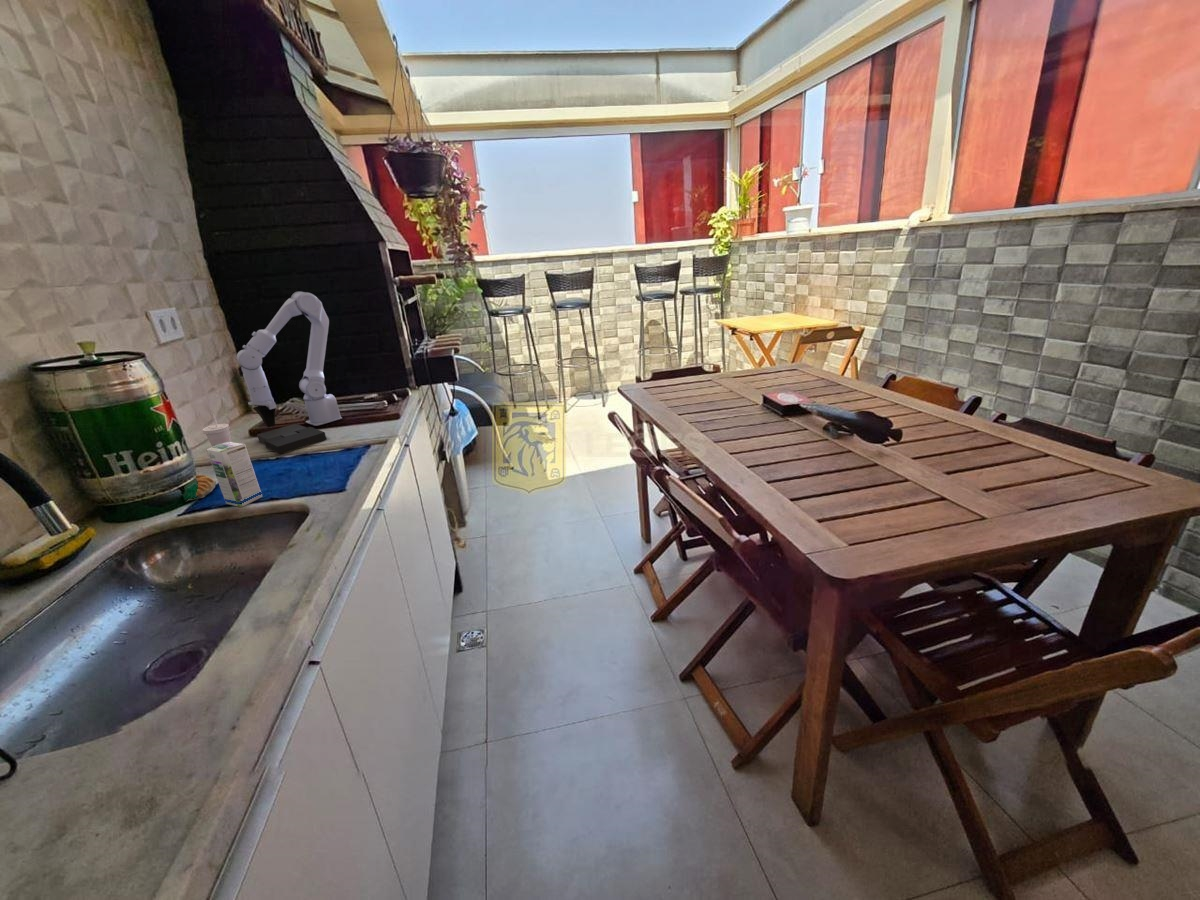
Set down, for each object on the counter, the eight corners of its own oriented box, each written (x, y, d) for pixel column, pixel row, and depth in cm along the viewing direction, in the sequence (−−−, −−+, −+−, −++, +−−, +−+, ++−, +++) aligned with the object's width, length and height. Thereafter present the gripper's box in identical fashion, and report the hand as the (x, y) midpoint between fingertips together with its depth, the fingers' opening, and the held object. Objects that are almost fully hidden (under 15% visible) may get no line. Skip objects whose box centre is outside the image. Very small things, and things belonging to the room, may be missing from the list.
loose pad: (298, 430, 166) (295, 423, 165) (312, 436, 160) (310, 429, 159) (259, 441, 157) (256, 434, 156) (273, 448, 151) (270, 440, 150)
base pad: (312, 433, 162) (310, 426, 161) (326, 439, 157) (324, 432, 156) (266, 447, 152) (263, 440, 151) (280, 454, 146) (277, 446, 146)
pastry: (209, 499, 121) (204, 485, 119) (176, 506, 118) (170, 492, 117) (218, 484, 129) (213, 471, 127) (187, 490, 126) (181, 477, 125)
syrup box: (225, 504, 118) (203, 449, 112) (249, 493, 123) (229, 440, 117) (240, 508, 116) (219, 452, 110) (264, 496, 121) (245, 442, 115)
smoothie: (229, 461, 143) (212, 416, 137) (208, 462, 143) (190, 417, 138) (244, 452, 149) (229, 409, 143) (224, 453, 149) (207, 409, 144)
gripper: (235, 387, 159) (249, 425, 165) (253, 393, 151) (267, 433, 157) (259, 381, 164) (271, 419, 170) (277, 387, 156) (290, 427, 162)
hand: (271, 426), depth 163 cm, fingers closed
